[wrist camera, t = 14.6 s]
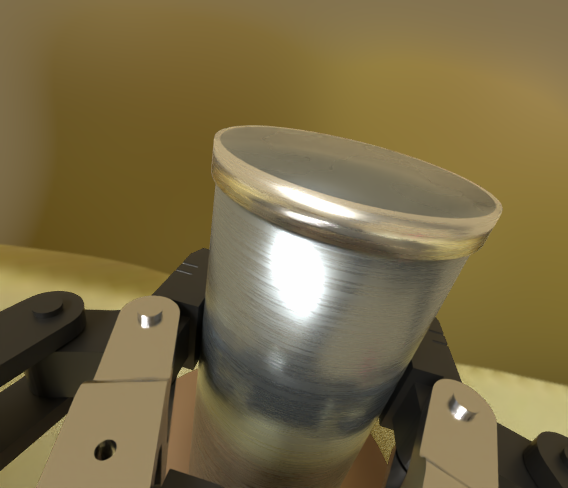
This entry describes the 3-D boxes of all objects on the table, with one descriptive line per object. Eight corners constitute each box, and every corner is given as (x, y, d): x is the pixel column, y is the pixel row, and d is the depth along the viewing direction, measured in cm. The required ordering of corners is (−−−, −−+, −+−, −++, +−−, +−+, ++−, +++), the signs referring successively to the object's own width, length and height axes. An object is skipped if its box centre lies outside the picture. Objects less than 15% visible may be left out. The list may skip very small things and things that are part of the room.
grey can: (298, 395, 15) (384, 142, 9) (354, 536, 11) (576, 226, 5) (180, 419, 13) (198, 114, 7) (191, 604, 9) (257, 213, 3)
